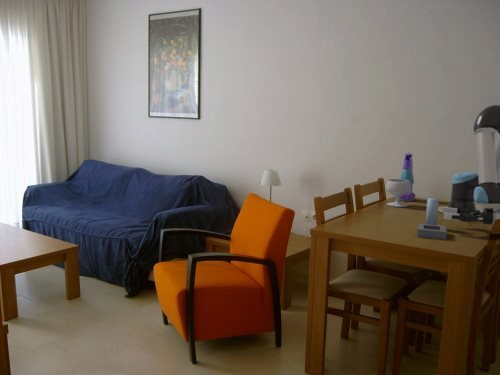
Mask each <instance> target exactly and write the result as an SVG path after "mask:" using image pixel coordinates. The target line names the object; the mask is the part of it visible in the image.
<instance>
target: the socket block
mask: <svg viewBox="0 0 500 375" xmlns="http://www.w3.org/2000/svg"><path fill="white" fill-rule="evenodd" d="M447 231H448V230H447V227H446V225H439V224H437V225H431V224H426V223H420V222H418V223H417V231H416V233H417V235H416V238H424V239H434V240H443V241H444V240H445V241H446V240H447V233H448V232H447Z"/></svg>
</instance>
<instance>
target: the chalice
mask: <svg viewBox="0 0 500 375" xmlns="http://www.w3.org/2000/svg"><path fill="white" fill-rule="evenodd" d="M385 187H386V191H387V192H388V193H390V194H391V195H392V196H394V197H395V201H394V202H387V203H386V205H387V206H390V207H395V208H405V207H408V206H409V205H408V204H406V203H403V202H400V201H401V200H399V199H400V197H401V196H403V195H405V194H407V193H409V192H410V190H411V185H410V182H409V181H408V180H403V179H401V178H390V179H388V181H387V183H386V185H385Z"/></svg>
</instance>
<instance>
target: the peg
mask: <svg viewBox="0 0 500 375" xmlns="http://www.w3.org/2000/svg"><path fill="white" fill-rule="evenodd" d="M438 210H439V198H435V197H434V198H433V197H428V198H426V214H425V215H426V216H425V224H431V225H438V224H437V223H438V222H437V221H438V215H439V214H438V213H439V212H438Z"/></svg>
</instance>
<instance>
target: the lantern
mask: <svg viewBox="0 0 500 375" xmlns="http://www.w3.org/2000/svg"><path fill="white" fill-rule="evenodd" d="M404 155H405V157H404V159H403V166H402V172H401V175H400V179H403V180H408V181H409V182H410V185H411V190H410V192H409V193H407V194H405V195H403V196H401V197H400V199H399V201H403V202H413V201H415V199H416V194H415V193H414V192H413V186H414V182H415V181H414V174H413V169H414V167H413V157H412V156H414V154H413V153H411V152H406V153H404Z"/></svg>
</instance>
